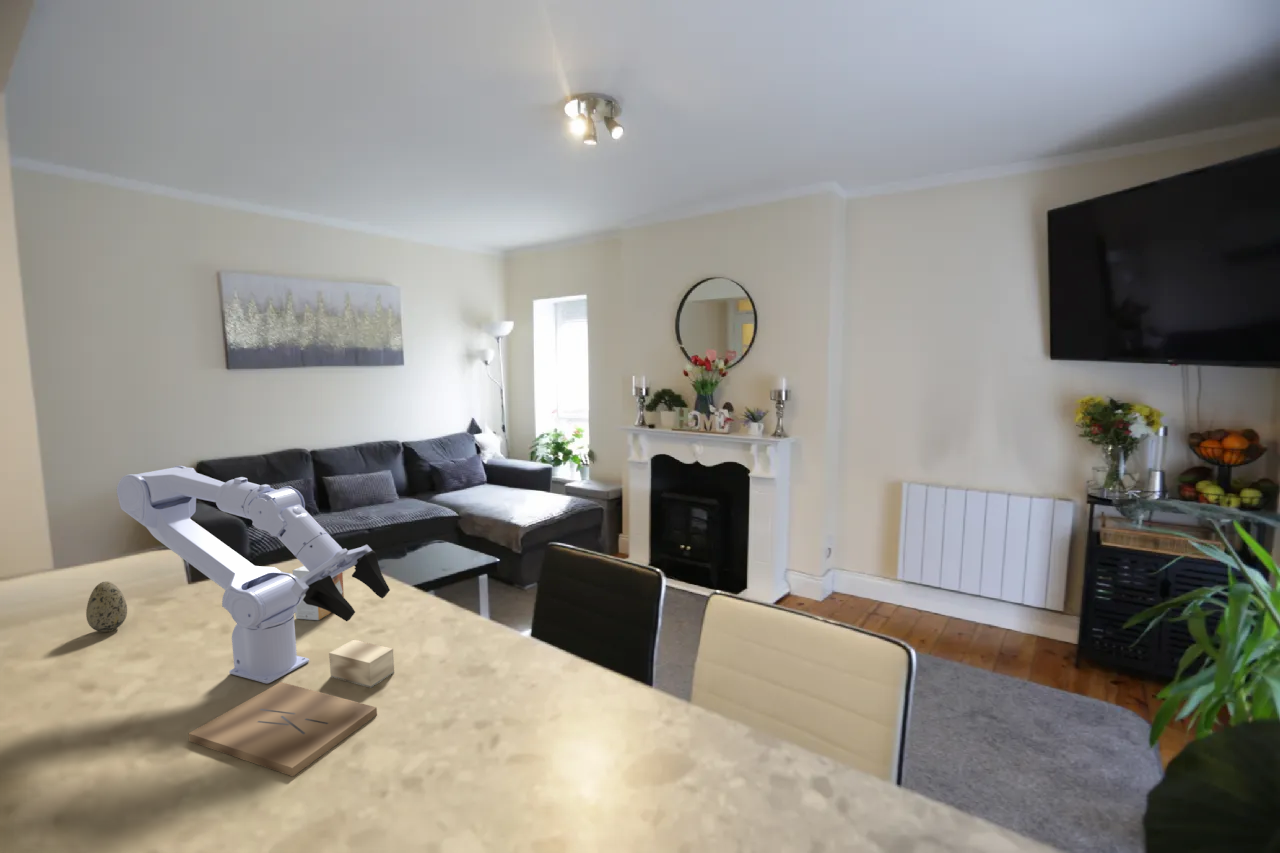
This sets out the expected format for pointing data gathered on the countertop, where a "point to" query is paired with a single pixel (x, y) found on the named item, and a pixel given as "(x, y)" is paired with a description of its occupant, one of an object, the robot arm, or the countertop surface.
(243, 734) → the oak board
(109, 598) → the decorative egg
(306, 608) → the small box
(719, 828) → the countertop surface
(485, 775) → the countertop surface
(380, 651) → the block
